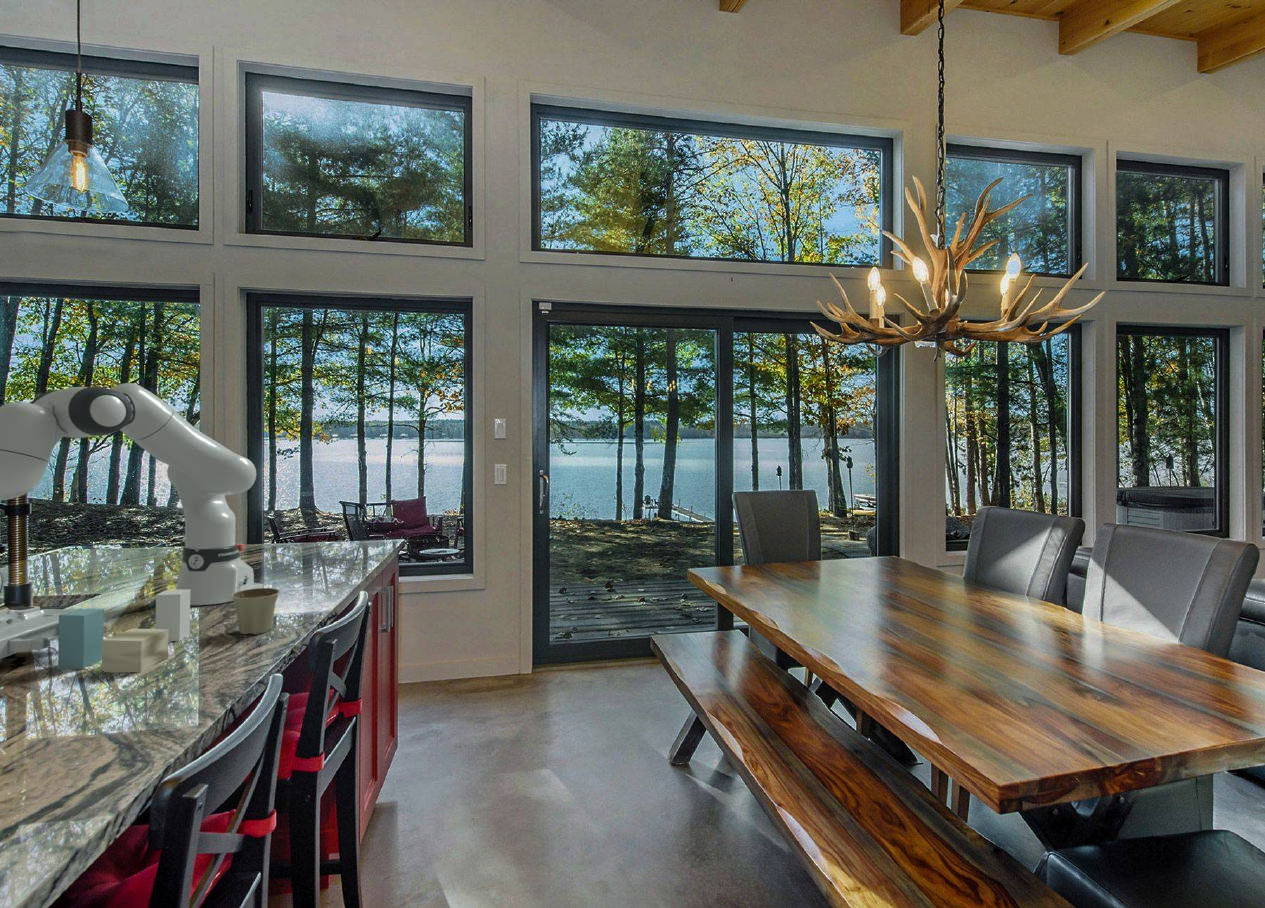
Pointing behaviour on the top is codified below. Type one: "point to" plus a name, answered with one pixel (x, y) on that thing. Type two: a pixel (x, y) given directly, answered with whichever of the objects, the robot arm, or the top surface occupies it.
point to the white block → (173, 613)
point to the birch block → (134, 650)
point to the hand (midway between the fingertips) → (67, 635)
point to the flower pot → (255, 609)
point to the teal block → (80, 638)
